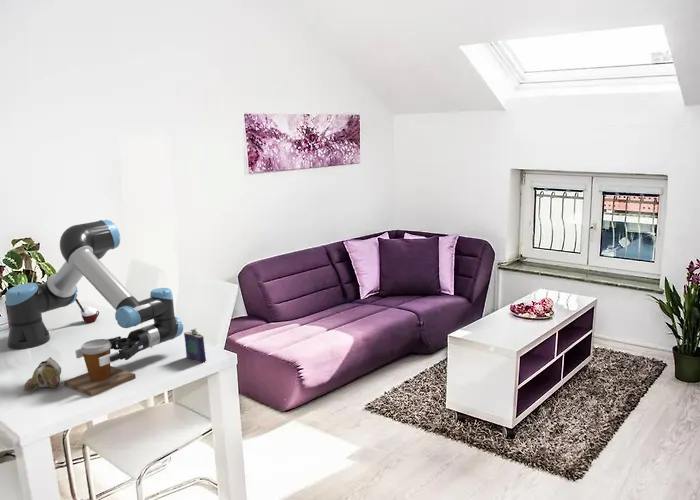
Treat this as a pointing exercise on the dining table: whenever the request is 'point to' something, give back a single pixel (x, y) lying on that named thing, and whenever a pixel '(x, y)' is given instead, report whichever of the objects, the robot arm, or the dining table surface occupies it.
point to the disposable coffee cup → (96, 358)
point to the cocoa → (88, 313)
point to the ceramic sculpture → (45, 375)
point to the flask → (195, 346)
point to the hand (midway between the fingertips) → (87, 358)
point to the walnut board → (99, 382)
